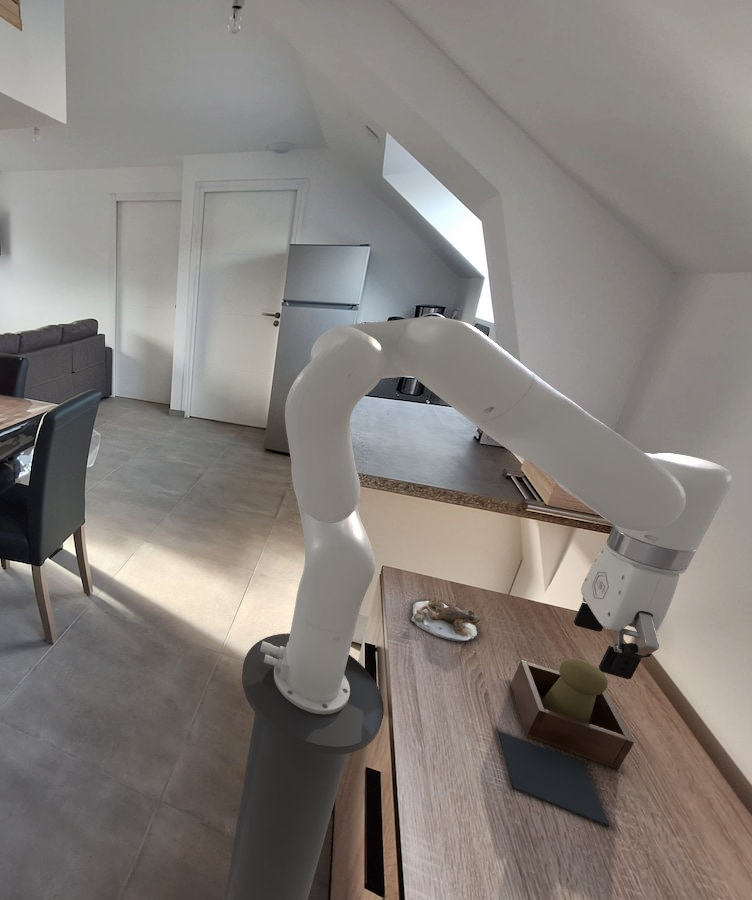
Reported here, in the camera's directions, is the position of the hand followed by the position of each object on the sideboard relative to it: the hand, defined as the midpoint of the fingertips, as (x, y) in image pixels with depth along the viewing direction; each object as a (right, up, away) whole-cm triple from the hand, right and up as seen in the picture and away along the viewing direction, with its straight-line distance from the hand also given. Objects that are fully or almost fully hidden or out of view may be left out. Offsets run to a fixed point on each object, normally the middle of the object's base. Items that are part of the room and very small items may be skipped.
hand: (599, 649), depth 65 cm
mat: (-9, -17, -2) cm, 19 cm away
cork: (-1, -14, +5) cm, 15 cm away
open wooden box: (-1, -14, +5) cm, 15 cm away
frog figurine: (-6, -6, +26) cm, 28 cm away
